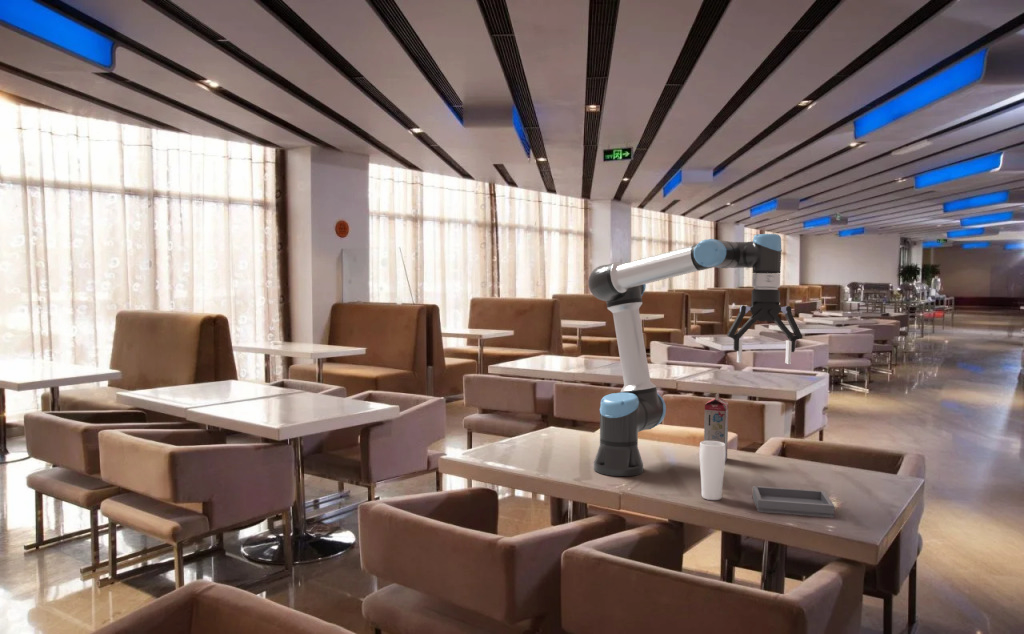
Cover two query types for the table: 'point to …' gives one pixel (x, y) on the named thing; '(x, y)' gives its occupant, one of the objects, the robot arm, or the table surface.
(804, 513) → the tray
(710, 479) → the drinking glass
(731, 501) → the table surface
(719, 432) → the juice carton
